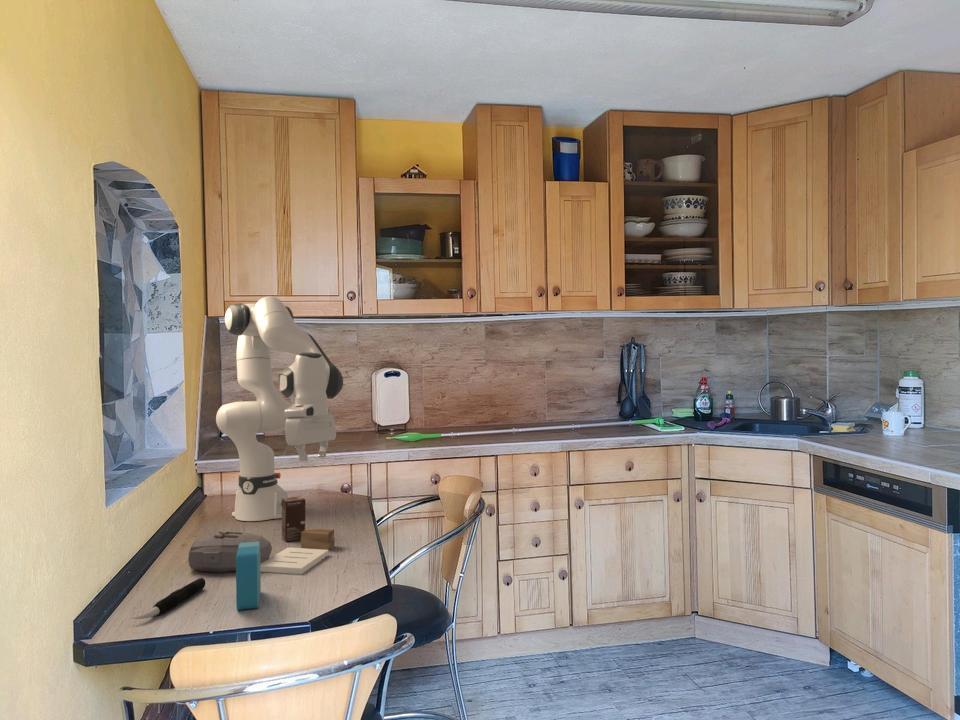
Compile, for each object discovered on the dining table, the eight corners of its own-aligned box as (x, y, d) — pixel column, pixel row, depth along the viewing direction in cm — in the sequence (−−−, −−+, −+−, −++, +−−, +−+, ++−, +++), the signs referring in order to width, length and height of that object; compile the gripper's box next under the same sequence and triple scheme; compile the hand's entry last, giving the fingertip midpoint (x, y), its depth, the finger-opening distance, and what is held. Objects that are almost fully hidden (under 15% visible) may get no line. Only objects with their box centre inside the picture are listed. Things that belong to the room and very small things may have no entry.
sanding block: (308, 545, 194) (308, 528, 194) (334, 547, 192) (334, 529, 192) (301, 550, 190) (300, 532, 189) (327, 551, 188) (327, 533, 188)
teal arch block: (240, 593, 155) (239, 541, 155) (260, 591, 157) (260, 539, 156) (236, 612, 144) (235, 556, 144) (258, 610, 145) (258, 554, 145)
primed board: (288, 552, 186) (287, 547, 186) (328, 555, 184) (328, 549, 184) (257, 571, 171) (257, 565, 171) (301, 574, 168) (301, 568, 168)
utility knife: (148, 626, 137) (148, 612, 137) (130, 625, 138) (130, 610, 138) (207, 589, 159) (207, 576, 158) (191, 588, 159) (191, 576, 159)
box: (286, 542, 197) (285, 501, 196) (281, 539, 200) (281, 498, 200) (306, 539, 200) (306, 498, 200) (301, 535, 204) (301, 496, 203)
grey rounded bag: (182, 574, 168) (262, 574, 168) (181, 541, 168) (262, 540, 168) (206, 556, 183) (279, 555, 184) (205, 525, 183) (279, 525, 183)
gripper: (322, 408, 201) (323, 455, 200) (280, 411, 181) (281, 463, 181) (340, 408, 199) (342, 455, 198) (300, 410, 179) (302, 463, 179)
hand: (313, 459), depth 189 cm, fingers open, 8 cm apart
